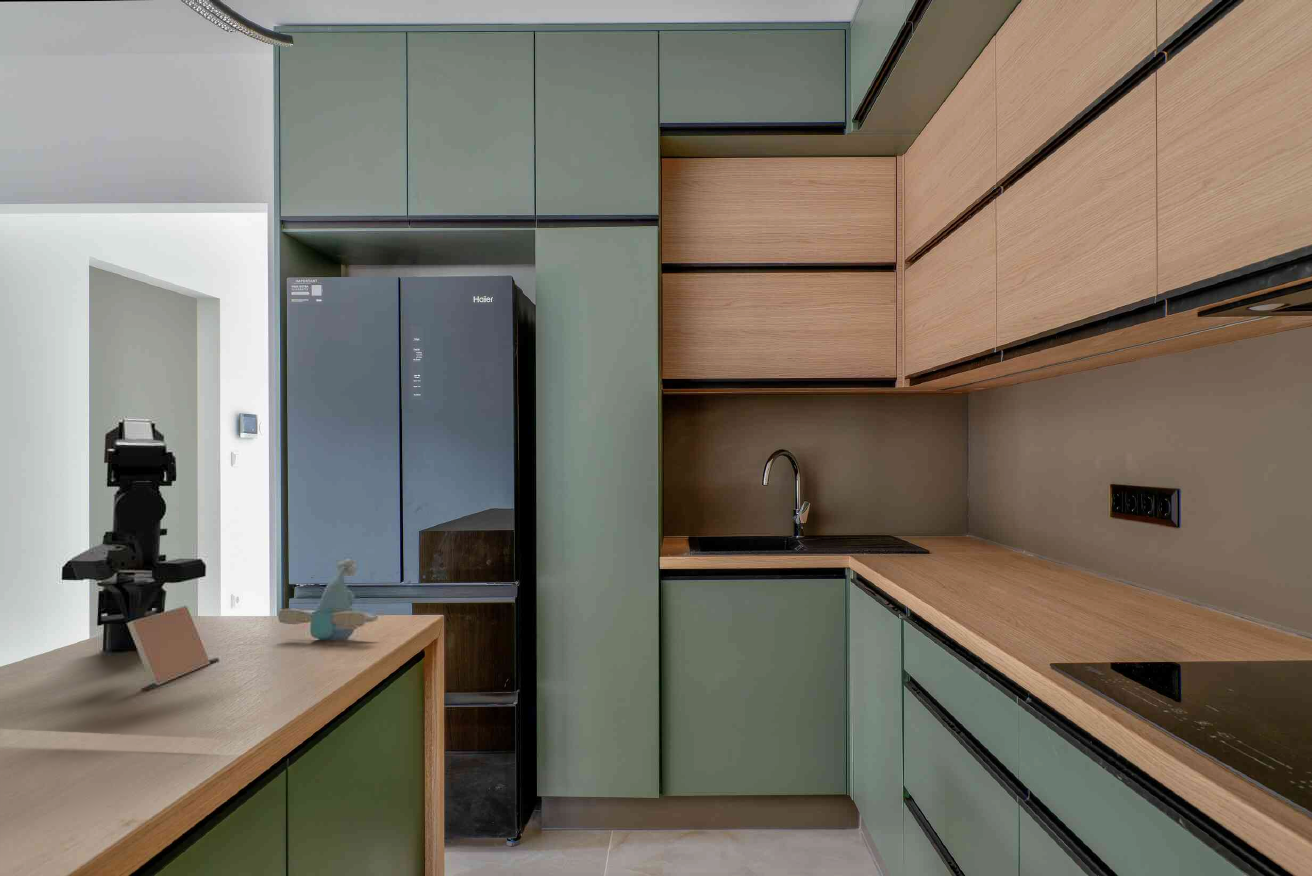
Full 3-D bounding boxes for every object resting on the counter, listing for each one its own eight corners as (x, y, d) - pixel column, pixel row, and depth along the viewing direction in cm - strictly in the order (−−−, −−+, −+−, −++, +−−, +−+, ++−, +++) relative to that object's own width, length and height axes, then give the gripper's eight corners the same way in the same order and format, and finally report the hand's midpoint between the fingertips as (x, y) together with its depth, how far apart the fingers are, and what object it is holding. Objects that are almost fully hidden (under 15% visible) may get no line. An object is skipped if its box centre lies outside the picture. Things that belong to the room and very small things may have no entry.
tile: (126, 623, 93) (132, 620, 93) (181, 607, 103) (187, 604, 103) (152, 687, 92) (158, 684, 92) (205, 665, 102) (211, 662, 102)
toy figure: (391, 636, 125) (393, 559, 126) (361, 652, 115) (364, 568, 115) (310, 632, 127) (313, 556, 127) (274, 648, 116) (276, 565, 117)
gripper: (25, 527, 91) (20, 638, 91) (149, 530, 90) (145, 643, 89) (99, 520, 102) (94, 619, 102) (210, 522, 101) (206, 623, 101)
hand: (133, 626), depth 98 cm, fingers closed
